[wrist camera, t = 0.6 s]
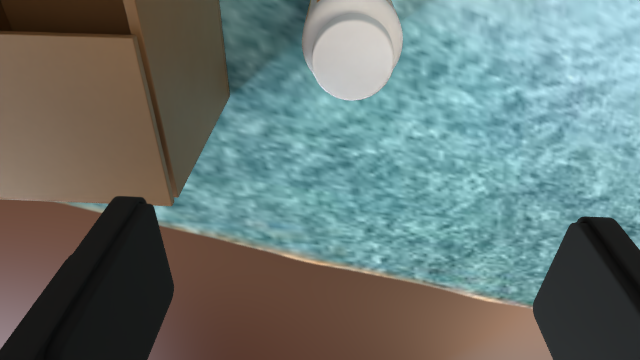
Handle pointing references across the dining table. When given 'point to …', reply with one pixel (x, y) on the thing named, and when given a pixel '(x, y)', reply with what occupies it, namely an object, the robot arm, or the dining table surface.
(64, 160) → the waste box
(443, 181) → the dining table surface
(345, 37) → the supplement bottle
